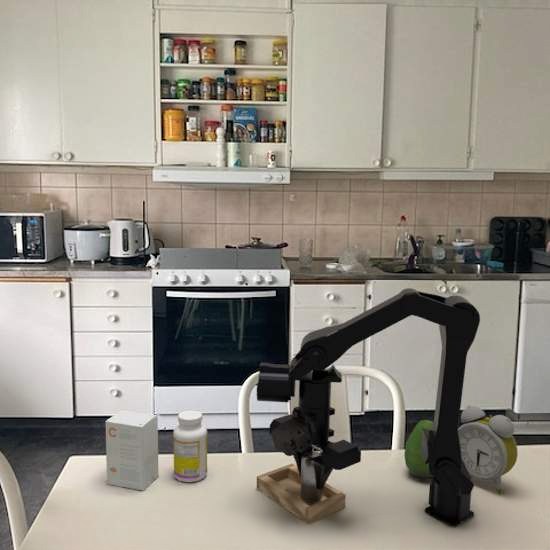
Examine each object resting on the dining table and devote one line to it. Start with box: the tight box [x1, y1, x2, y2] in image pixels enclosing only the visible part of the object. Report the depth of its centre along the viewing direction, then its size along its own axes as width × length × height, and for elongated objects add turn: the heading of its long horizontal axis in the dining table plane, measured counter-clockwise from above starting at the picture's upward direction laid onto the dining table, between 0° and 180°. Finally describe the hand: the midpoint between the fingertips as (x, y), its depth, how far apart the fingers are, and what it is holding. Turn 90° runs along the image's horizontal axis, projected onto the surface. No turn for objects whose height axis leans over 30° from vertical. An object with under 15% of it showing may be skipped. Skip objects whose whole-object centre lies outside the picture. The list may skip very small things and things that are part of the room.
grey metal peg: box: [300, 451, 322, 503], centre depth 111 cm, size 4×4×8 cm
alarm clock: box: [458, 404, 519, 494], centre depth 121 cm, size 12×7×15 cm, turn 42°
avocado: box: [403, 419, 434, 479], centre depth 123 cm, size 8×8×12 cm
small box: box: [104, 409, 160, 491], centre depth 118 cm, size 8×6×13 cm
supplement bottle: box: [172, 410, 208, 483], centre depth 120 cm, size 7×7×13 cm
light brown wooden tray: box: [256, 463, 347, 525], centre depth 114 cm, size 15×9×2 cm, turn 39°
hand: (311, 483), depth 111 cm, fingers closed on grey metal peg, 4 cm apart
